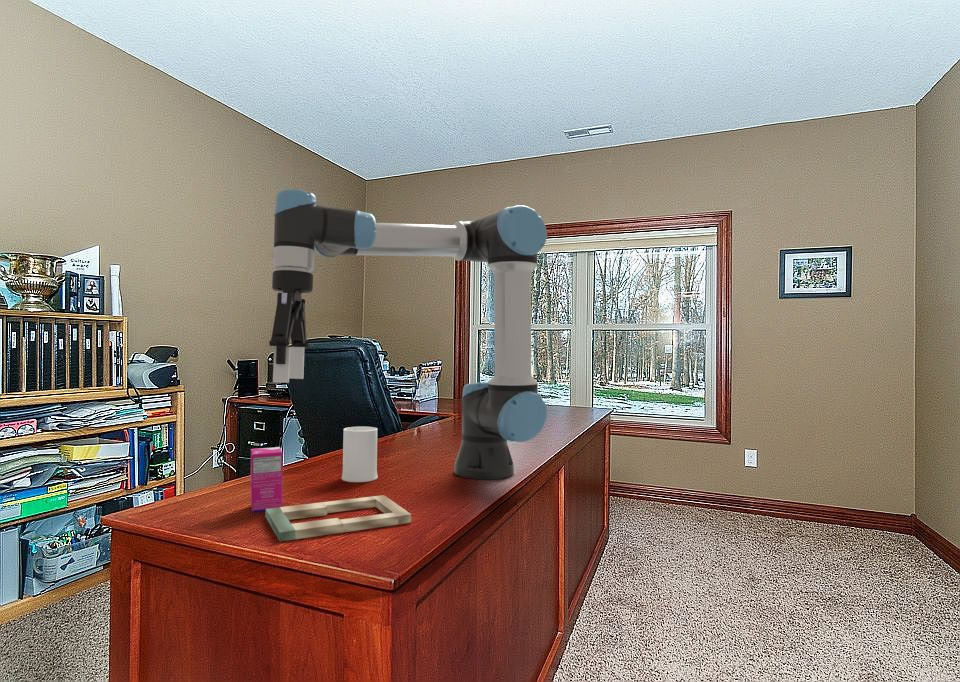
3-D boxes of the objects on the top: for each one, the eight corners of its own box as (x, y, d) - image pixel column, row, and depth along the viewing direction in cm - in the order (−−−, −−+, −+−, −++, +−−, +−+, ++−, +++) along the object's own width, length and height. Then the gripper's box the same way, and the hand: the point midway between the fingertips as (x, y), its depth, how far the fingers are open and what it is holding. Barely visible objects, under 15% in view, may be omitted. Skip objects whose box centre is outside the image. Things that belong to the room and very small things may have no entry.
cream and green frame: (383, 502, 118) (383, 495, 118) (411, 522, 105) (411, 514, 105) (265, 516, 107) (265, 508, 107) (279, 541, 94) (279, 532, 94)
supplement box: (249, 505, 114) (250, 448, 114) (280, 503, 117) (281, 446, 117) (250, 513, 109) (251, 453, 109) (283, 510, 111) (284, 451, 111)
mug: (357, 470, 147) (358, 423, 147) (388, 473, 145) (389, 425, 145) (335, 481, 136) (336, 430, 136) (368, 483, 134) (369, 432, 134)
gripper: (287, 278, 124) (283, 376, 123) (255, 260, 99) (250, 383, 99) (323, 279, 125) (319, 377, 124) (300, 262, 100) (295, 384, 99)
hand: (289, 380), depth 111 cm, fingers open, 13 cm apart
